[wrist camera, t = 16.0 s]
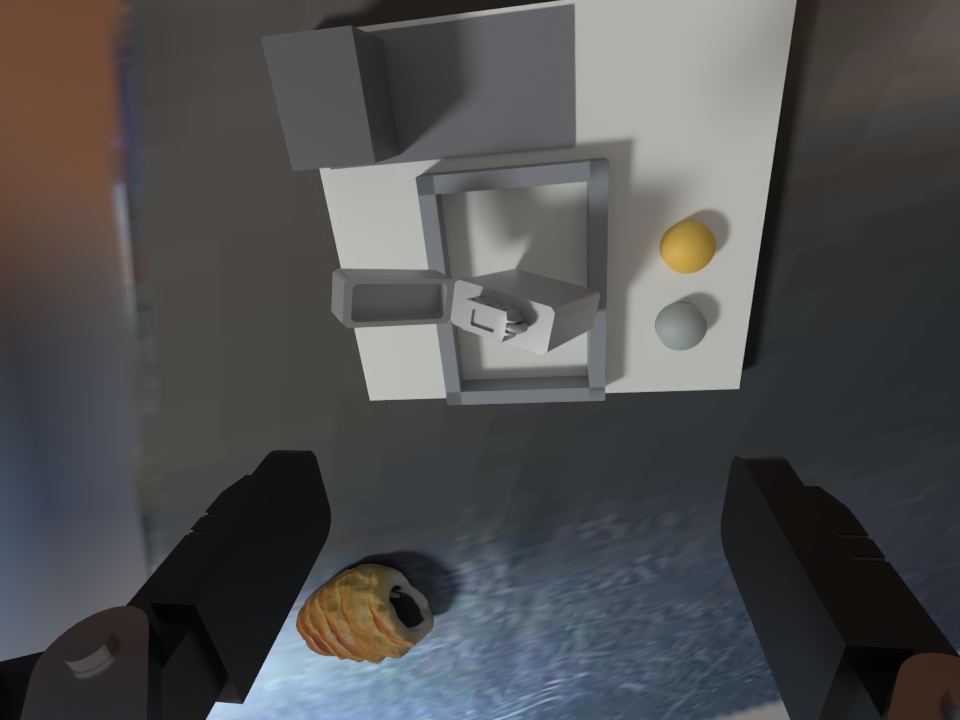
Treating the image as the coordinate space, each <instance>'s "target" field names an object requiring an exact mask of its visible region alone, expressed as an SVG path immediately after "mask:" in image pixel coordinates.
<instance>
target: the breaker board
mask: <svg viewBox="0 0 960 720" xmlns="http://www.w3.org/2000/svg"><path fill="white" fill-rule="evenodd" d="M796 2H797V0H560V1H553V2H545V3H537V4H530V5H522V6H515V7H507V8H499V9H492V10H484V11H477V12H469V13H461V14H454V15H446V16H439V17H431V18H423V19H416V20H408V21H401V22H393V23H385V24H378V25H370V26H363V27H356V28H358V29H361V30H363V31H365V32H367V33H369V34H371V35H374V36H376V37H378V38H380V39H382V42H383V48H384V55H385V61H386V68H387V75H388V81H389V88H390V94H391V101H392V108H393V114H394V121H395V127H396V134H397V140H398V147H399V154H400V155H399V156H396V157H393V158H390V159H387V160H384V161H381V162H377V163H373V164H362V165H351V166H341V167H330V168H320V173H321V178H322V182H323V187H324V191H325V196H326V201H327V205H328V210H329V214H330V219H331V224H332V228H333V233H334V237H335V242H336V246H337V251H338V256H339V260H340V265H341V268H345V269H415V270H437V271H439V272H440V273H442V274H444V275H446V276H447V277H449V278H451V279H452V280H453V281H454V283H455V282H457V281H458V280H460V279H465V278H470V277H476V276H481V275H486V274H491V273H496V272H501V271H506V270H511V269H519V270H523V271H527V272H530V273H534V274H538V275H542V276H545V277H549V278H553V279H557V280H560V281H564V282H568V283H572V284H576V285H579V286H583V287H587V288H591V289H594V290H597V291H598V292H599V294H600V299H599V304H598V308H597V312H596V316H595V320H594V325H593V328H592V329H590V330H589V331H587V332H585V333H583V334H581V335H579V336H577V337H575V338H574V339H572V340H570V341H568V342H566V343H564V344H562V345H560V346H558V347H556V348H554V349H553V350H551V351H549V352H547V353H545V354H543V355H539V354H537V353H534V352H531V351H528V350H525V349H522V348H519V347H517V346H514V345H511V344H508V343H505V342H502V343H501V342H498V341H495V340H492V339H489V338H487V337H484V336H481V335H478V334H475V333H472V332H469V331H467V330H464V329H462V328H461V327H459V326H456V325H454V324H453V323H452V321H451V319H450V320H449V321H448V322H447V323H446V324H425V325H404V326H383V327H363V328H354V329H355V333H356V338H357V343H358V347H359V352H360V356H361V361H362V365H363V370H364V375H365V379H366V384H367V388H368V393H369V398H370V400H398V399H430V398H447V404H448V405H468V404H502V403H536V402H570V401H604V400H605V393H621V392H653V391H685V390H717V389H739V385H740V378H741V372H742V365H743V358H744V351H745V345H746V338H747V331H748V325H749V318H750V311H751V304H752V298H753V291H754V284H755V277H756V271H757V264H758V257H759V251H760V244H761V237H762V230H763V224H764V217H765V210H766V203H767V197H768V190H769V183H770V177H771V170H772V163H773V156H774V150H775V143H776V136H777V129H778V123H779V116H780V109H781V103H782V96H783V89H784V82H785V76H786V69H787V62H788V55H789V49H790V42H791V35H792V28H793V22H794V15H795V8H796Z"/></svg>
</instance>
